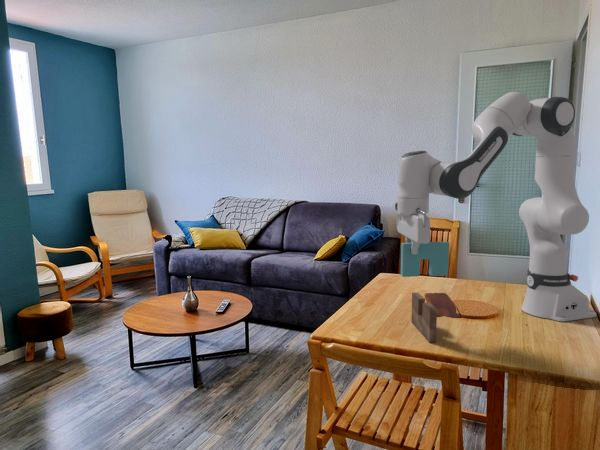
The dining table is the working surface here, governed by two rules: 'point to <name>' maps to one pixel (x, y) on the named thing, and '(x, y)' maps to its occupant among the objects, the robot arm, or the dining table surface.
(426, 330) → the walnut slotted plate
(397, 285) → the dining table surface
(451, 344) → the dining table surface
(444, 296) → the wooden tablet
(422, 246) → the teal slotted plate
